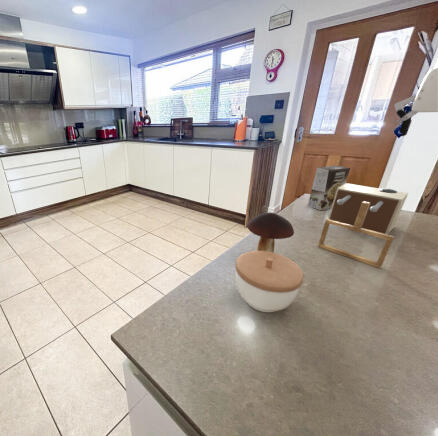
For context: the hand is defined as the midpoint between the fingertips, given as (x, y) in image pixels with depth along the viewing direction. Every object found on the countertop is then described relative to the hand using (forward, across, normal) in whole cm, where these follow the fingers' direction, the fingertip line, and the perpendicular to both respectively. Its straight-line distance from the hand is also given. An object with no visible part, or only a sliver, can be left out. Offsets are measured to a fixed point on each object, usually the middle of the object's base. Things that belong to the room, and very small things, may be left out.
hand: (429, 135), depth 61 cm
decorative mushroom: (+29, +18, +42) cm, 55 cm away
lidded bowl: (+29, +12, +56) cm, 64 cm away
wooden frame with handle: (+29, +5, +23) cm, 37 cm away
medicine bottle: (+29, +4, -7) cm, 31 cm away
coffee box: (+30, +22, -12) cm, 39 cm away
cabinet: (+30, +8, +1) cm, 31 cm away
